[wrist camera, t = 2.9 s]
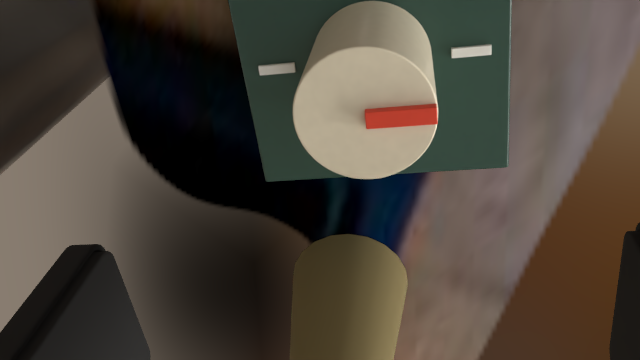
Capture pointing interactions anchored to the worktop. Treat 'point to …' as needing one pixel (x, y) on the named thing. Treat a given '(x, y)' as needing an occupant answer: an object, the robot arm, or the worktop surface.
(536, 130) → the worktop surface
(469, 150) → the panel
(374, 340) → the cork
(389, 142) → the grip knob
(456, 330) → the worktop surface
